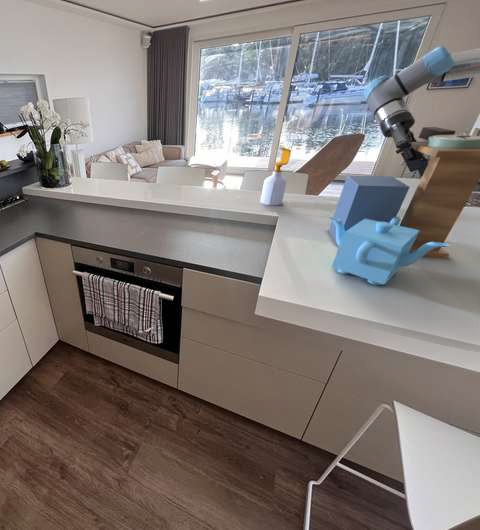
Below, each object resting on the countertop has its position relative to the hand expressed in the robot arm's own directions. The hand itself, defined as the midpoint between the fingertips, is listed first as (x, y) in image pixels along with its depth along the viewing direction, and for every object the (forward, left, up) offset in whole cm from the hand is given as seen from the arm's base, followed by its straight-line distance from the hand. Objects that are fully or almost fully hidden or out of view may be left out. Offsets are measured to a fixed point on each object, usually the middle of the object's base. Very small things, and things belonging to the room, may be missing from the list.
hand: (424, 175), depth 85 cm
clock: (-1, -3, +9) cm, 9 cm away
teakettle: (+5, +28, -21) cm, 36 cm away
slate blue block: (+10, +7, -21) cm, 25 cm away
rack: (-3, +3, -21) cm, 22 cm away
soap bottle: (+44, -19, -21) cm, 53 cm away
